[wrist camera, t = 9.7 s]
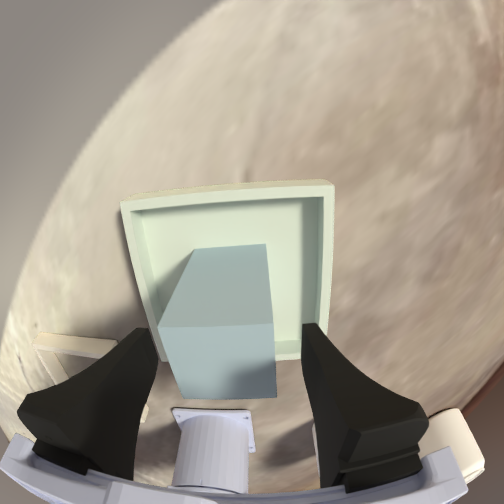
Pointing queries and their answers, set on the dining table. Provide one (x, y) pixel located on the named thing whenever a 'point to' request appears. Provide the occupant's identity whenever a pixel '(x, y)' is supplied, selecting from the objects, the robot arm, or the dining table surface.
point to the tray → (239, 233)
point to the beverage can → (453, 442)
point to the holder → (70, 353)
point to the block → (222, 325)
